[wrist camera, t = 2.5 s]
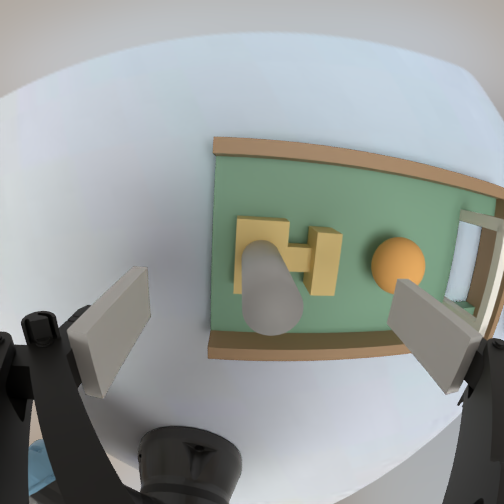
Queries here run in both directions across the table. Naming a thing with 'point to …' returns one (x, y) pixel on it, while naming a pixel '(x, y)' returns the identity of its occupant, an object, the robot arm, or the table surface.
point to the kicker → (281, 271)
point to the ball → (397, 263)
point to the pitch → (348, 243)
